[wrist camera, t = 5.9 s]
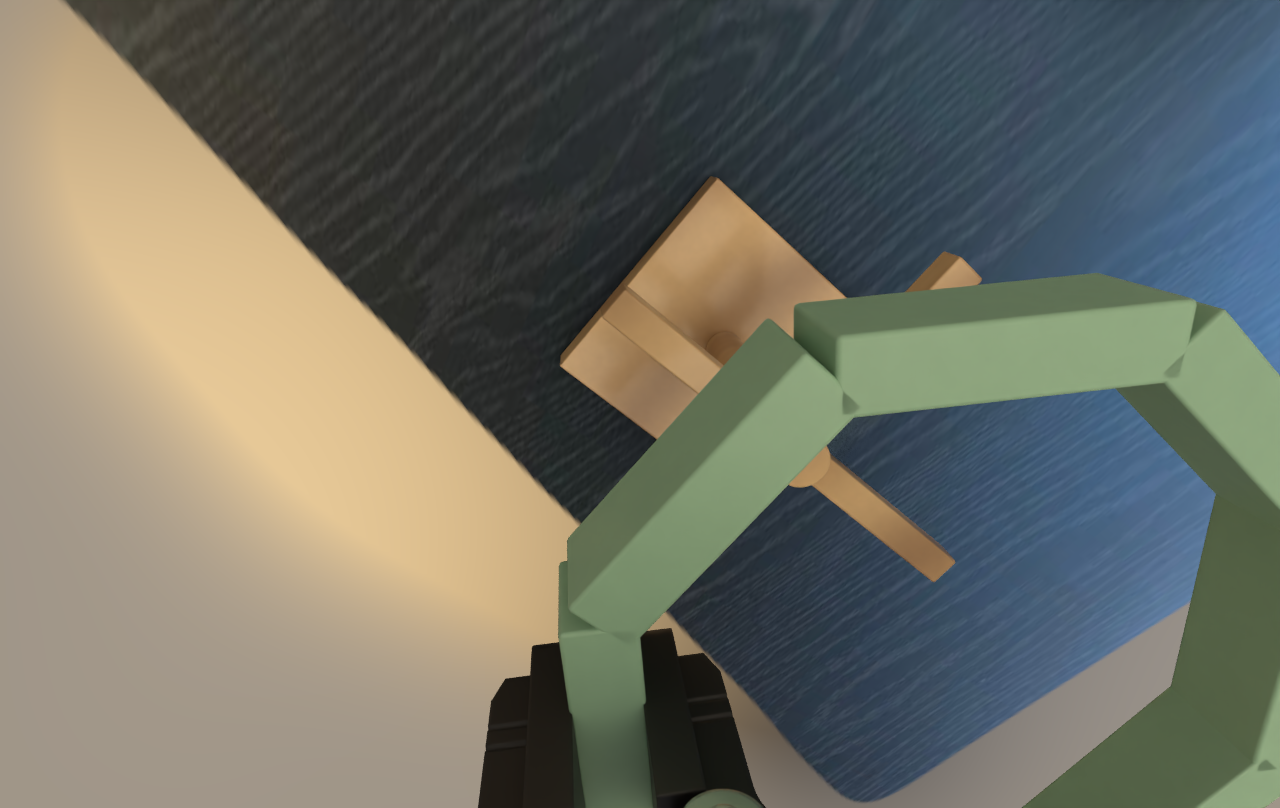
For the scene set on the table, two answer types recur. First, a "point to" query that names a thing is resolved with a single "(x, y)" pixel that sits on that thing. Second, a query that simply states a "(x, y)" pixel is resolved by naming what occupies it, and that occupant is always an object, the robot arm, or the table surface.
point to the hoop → (944, 377)
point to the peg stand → (729, 338)
